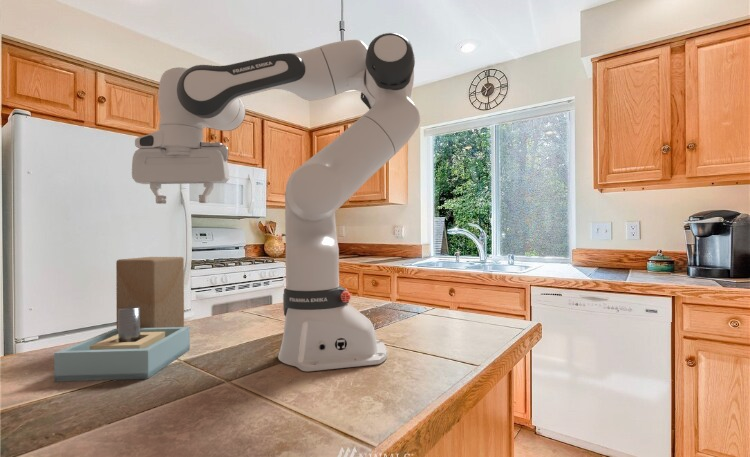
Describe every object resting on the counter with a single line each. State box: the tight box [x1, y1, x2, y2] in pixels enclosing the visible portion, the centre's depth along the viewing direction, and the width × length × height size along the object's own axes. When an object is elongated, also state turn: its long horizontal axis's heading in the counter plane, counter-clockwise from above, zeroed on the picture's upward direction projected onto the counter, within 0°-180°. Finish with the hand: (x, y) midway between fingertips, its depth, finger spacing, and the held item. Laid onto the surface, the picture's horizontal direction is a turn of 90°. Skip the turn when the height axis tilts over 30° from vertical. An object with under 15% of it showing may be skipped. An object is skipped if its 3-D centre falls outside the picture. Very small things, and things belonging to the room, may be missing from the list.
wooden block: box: [115, 256, 185, 329], centre depth 87 cm, size 10×10×20 cm
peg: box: [118, 306, 140, 342], centre depth 72 cm, size 4×4×10 cm
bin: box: [53, 326, 191, 383], centre depth 72 cm, size 16×16×5 cm
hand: (182, 203), depth 82 cm, fingers open, 8 cm apart
